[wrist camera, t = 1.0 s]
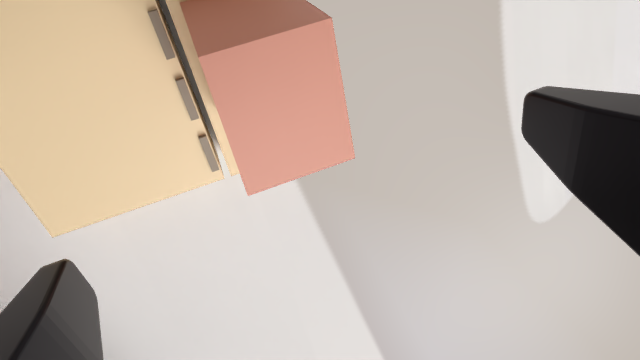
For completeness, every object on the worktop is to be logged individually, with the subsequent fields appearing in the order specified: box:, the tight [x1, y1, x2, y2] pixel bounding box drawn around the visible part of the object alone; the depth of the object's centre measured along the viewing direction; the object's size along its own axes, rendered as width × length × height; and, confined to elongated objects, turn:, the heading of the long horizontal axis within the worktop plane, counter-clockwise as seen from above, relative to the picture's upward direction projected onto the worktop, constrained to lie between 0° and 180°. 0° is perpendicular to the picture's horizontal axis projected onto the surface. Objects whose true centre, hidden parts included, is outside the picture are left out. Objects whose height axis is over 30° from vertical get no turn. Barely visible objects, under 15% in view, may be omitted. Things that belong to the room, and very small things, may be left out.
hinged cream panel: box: [0, 0, 224, 238], centre depth 16 cm, size 10×7×3 cm
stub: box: [165, 0, 355, 196], centre depth 15 cm, size 10×4×8 cm, turn 11°
